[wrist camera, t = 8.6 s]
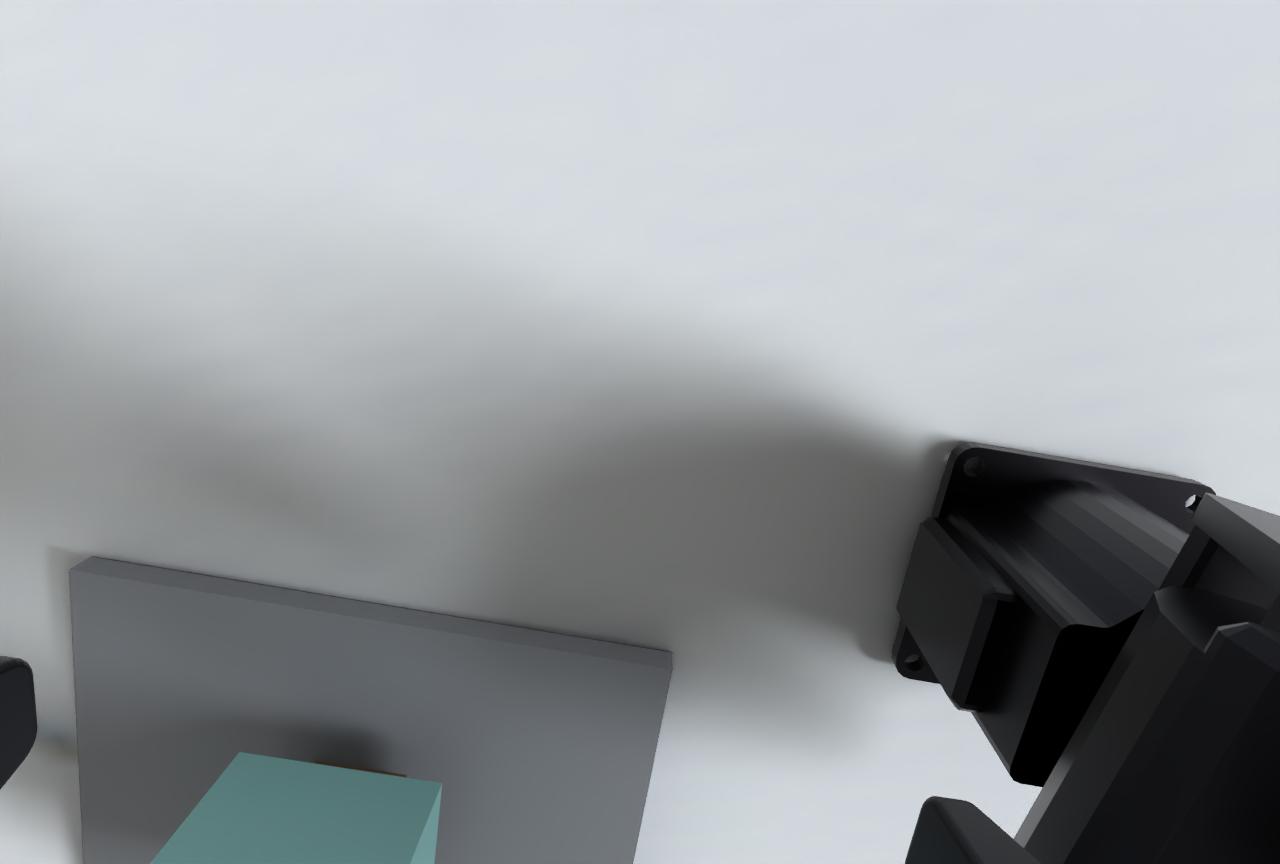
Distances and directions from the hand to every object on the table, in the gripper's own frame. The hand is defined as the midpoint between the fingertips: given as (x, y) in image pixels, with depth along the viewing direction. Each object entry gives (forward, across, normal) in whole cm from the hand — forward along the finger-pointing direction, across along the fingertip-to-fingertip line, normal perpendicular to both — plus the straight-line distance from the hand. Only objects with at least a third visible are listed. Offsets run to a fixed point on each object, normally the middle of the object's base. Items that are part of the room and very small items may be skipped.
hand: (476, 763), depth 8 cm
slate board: (+12, +5, +19) cm, 23 cm away
